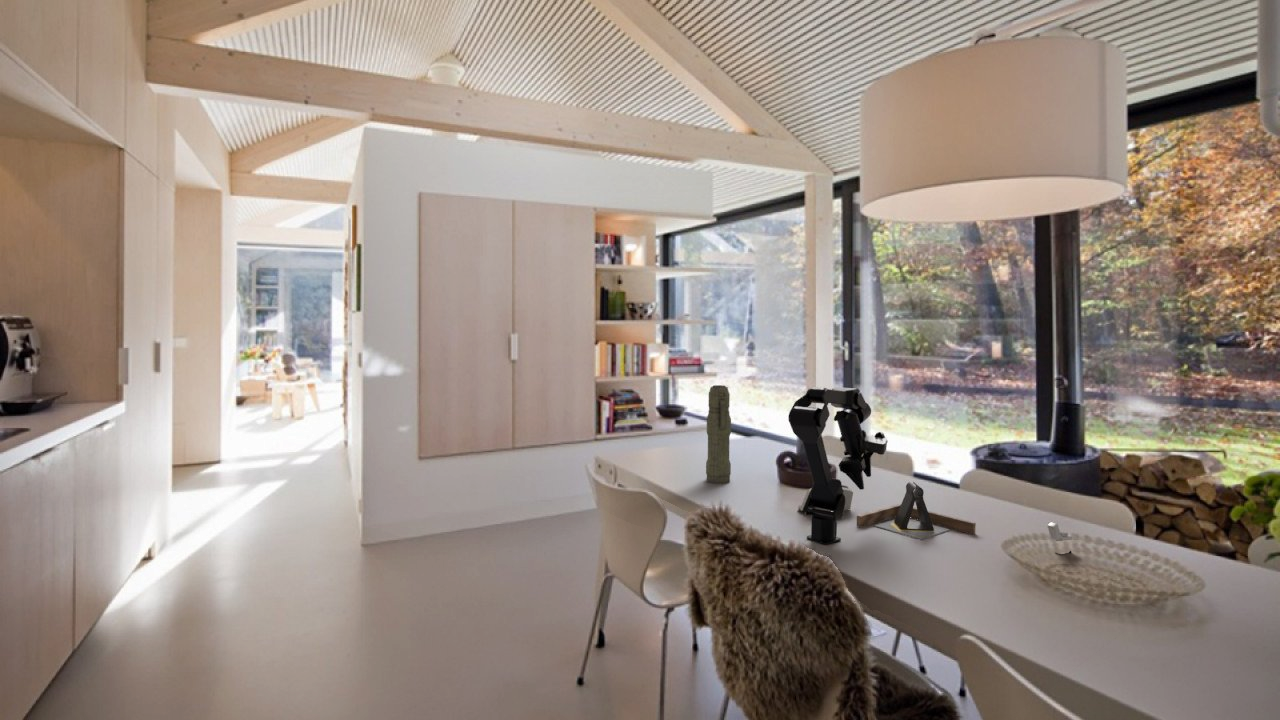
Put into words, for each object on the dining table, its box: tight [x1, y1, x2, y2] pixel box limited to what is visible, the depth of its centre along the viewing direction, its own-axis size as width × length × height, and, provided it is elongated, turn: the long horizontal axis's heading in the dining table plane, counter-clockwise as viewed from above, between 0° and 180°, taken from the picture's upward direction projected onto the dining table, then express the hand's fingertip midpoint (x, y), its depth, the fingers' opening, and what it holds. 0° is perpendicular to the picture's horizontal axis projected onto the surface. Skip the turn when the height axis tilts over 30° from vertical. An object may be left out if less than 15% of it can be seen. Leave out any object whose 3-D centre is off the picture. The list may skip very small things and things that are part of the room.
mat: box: [874, 518, 951, 541], centre depth 174 cm, size 14×14×1 cm
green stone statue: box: [705, 384, 732, 484], centre depth 228 cm, size 9×12×35 cm
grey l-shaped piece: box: [1047, 522, 1073, 541], centre depth 155 cm, size 7×2×8 cm, turn 113°
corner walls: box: [856, 503, 977, 535], centre depth 173 cm, size 21×23×3 cm
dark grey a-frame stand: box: [894, 481, 934, 531], centre depth 174 cm, size 9×6×12 cm, turn 82°
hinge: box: [797, 483, 854, 512], centre depth 190 cm, size 17×5×10 cm, turn 113°
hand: (865, 482), depth 176 cm, fingers open, 9 cm apart
